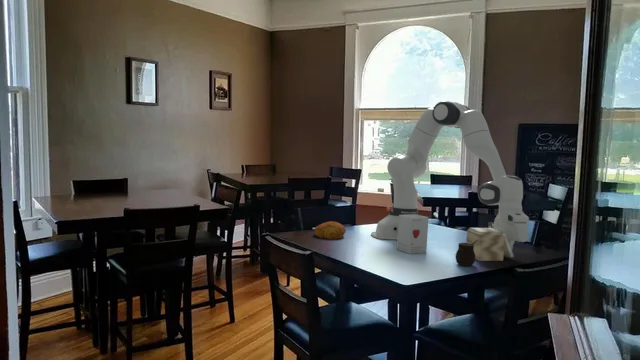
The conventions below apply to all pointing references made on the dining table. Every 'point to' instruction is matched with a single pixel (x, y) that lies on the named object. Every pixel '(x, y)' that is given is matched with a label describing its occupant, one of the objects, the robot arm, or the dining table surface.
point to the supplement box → (412, 233)
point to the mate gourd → (465, 254)
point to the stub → (507, 248)
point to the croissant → (330, 230)
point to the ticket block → (487, 243)
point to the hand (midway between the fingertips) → (508, 249)
